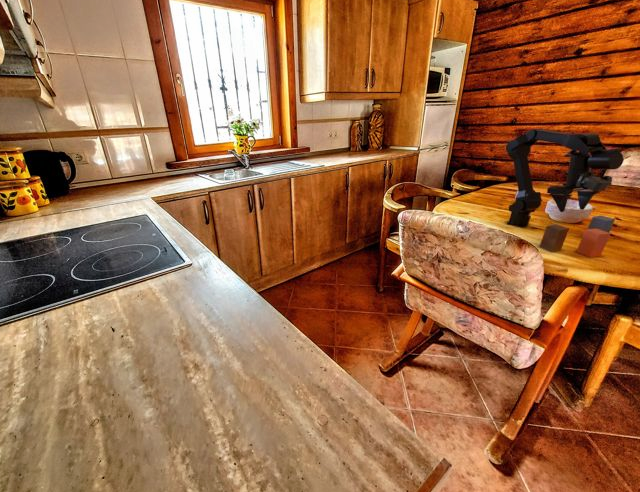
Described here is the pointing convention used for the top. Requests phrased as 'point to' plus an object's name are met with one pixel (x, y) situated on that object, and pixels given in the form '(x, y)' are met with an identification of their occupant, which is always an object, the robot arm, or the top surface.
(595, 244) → the terracotta block
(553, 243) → the walnut block
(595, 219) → the slate block
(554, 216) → the paper bowls
